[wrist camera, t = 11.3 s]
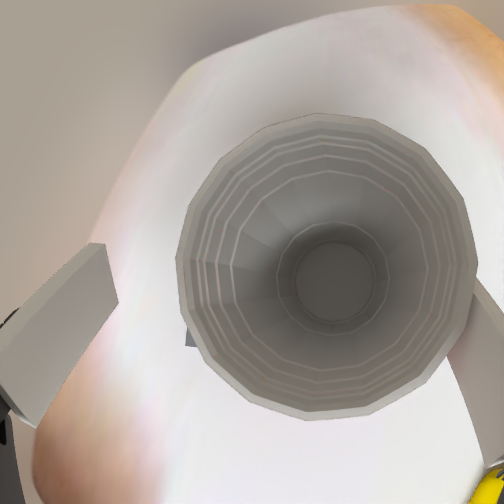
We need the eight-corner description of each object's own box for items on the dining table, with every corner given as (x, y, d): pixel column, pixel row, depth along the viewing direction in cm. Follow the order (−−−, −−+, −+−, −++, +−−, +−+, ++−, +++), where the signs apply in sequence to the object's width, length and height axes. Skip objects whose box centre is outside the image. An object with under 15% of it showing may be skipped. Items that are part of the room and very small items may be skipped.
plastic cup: (237, 239, 23) (139, 182, 12) (371, 185, 21) (388, 76, 9) (283, 379, 20) (215, 453, 9) (427, 327, 18) (512, 350, 7)
